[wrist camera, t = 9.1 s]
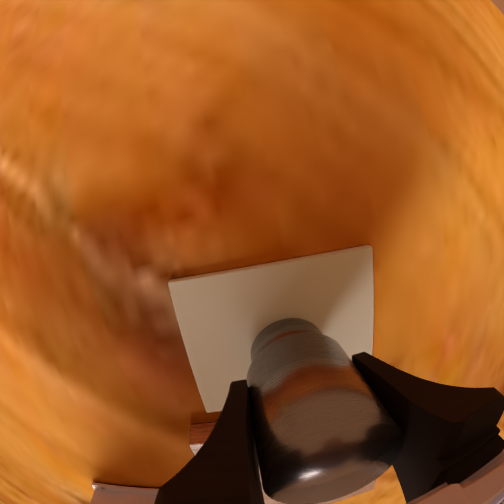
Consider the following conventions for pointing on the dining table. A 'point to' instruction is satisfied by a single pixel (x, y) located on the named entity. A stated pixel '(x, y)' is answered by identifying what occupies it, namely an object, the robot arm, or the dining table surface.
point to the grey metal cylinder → (315, 417)
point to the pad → (271, 311)
